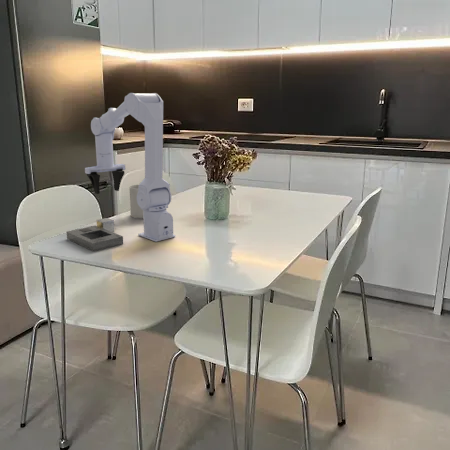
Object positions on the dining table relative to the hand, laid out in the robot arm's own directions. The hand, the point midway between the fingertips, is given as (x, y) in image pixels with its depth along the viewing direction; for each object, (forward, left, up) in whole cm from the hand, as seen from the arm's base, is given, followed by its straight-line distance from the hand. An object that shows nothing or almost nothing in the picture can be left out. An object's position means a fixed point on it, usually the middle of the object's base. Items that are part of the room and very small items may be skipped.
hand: (107, 191), depth 161 cm
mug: (-5, -12, -10) cm, 17 cm away
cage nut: (-12, +9, -10) cm, 18 cm away
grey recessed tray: (-19, +17, -10) cm, 28 cm away
